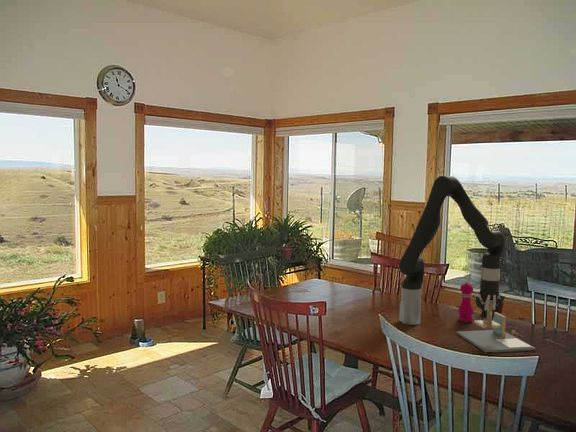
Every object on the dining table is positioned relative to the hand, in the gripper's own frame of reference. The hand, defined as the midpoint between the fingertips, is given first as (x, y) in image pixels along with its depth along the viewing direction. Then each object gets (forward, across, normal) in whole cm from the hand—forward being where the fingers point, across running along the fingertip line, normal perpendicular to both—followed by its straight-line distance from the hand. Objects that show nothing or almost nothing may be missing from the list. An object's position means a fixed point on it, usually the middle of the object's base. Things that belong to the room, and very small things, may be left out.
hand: (487, 318), depth 202 cm
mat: (+11, +5, +3) cm, 13 cm away
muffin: (+12, +28, +42) cm, 52 cm away
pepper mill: (+12, +9, +34) cm, 37 cm away
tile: (+10, +11, +9) cm, 18 cm away
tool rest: (+10, +10, -3) cm, 15 cm away
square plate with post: (+3, 0, 0) cm, 3 cm away
